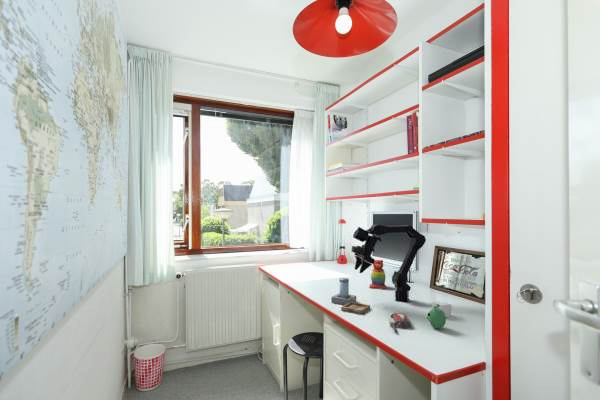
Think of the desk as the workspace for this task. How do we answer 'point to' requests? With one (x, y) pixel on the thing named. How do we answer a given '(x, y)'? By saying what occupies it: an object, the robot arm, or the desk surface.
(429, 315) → the alien toy
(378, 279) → the stacking bear
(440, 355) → the desk surface
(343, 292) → the ball
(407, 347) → the desk surface
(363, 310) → the tray
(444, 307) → the pale pink cube
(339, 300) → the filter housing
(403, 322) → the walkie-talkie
